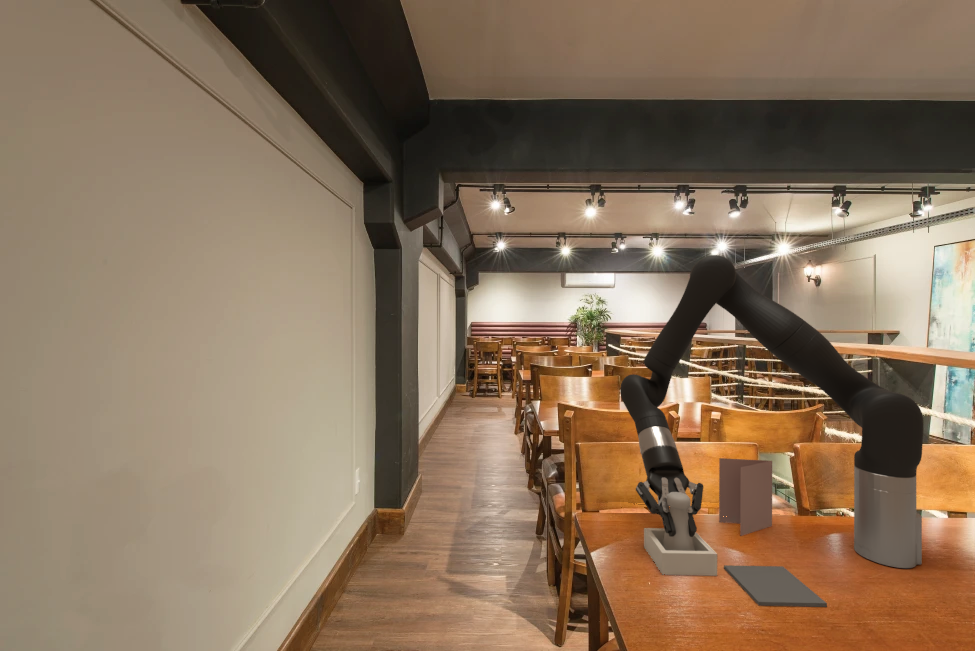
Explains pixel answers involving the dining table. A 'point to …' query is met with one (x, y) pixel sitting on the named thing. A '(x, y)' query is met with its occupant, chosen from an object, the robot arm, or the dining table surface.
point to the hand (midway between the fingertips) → (682, 534)
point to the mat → (774, 586)
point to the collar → (680, 555)
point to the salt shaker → (679, 523)
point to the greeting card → (745, 493)
